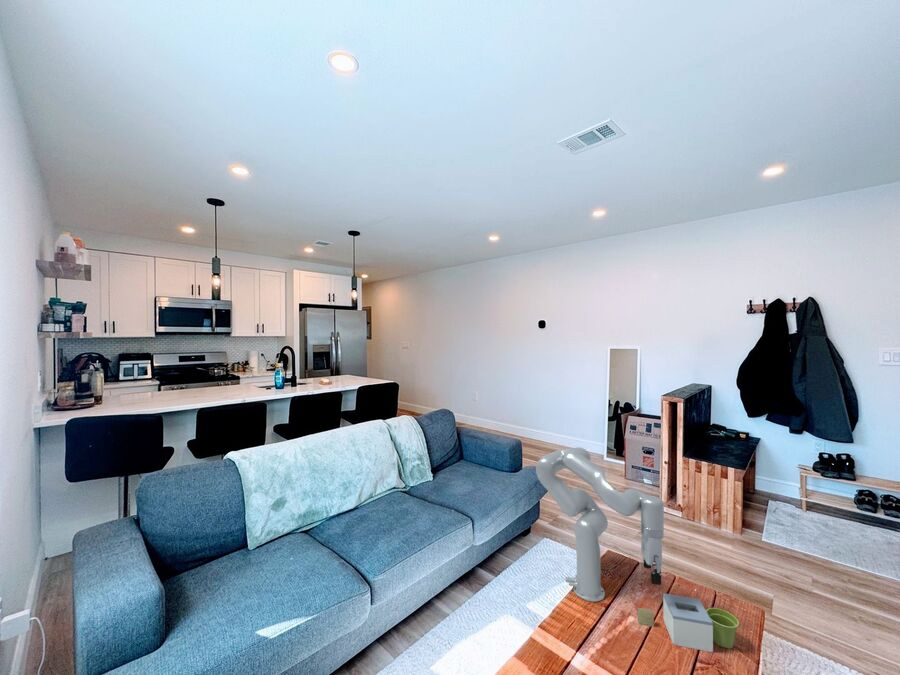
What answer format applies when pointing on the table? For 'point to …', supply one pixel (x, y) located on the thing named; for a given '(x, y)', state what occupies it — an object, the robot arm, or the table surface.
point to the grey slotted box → (687, 622)
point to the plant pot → (723, 627)
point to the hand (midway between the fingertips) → (651, 575)
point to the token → (645, 617)
